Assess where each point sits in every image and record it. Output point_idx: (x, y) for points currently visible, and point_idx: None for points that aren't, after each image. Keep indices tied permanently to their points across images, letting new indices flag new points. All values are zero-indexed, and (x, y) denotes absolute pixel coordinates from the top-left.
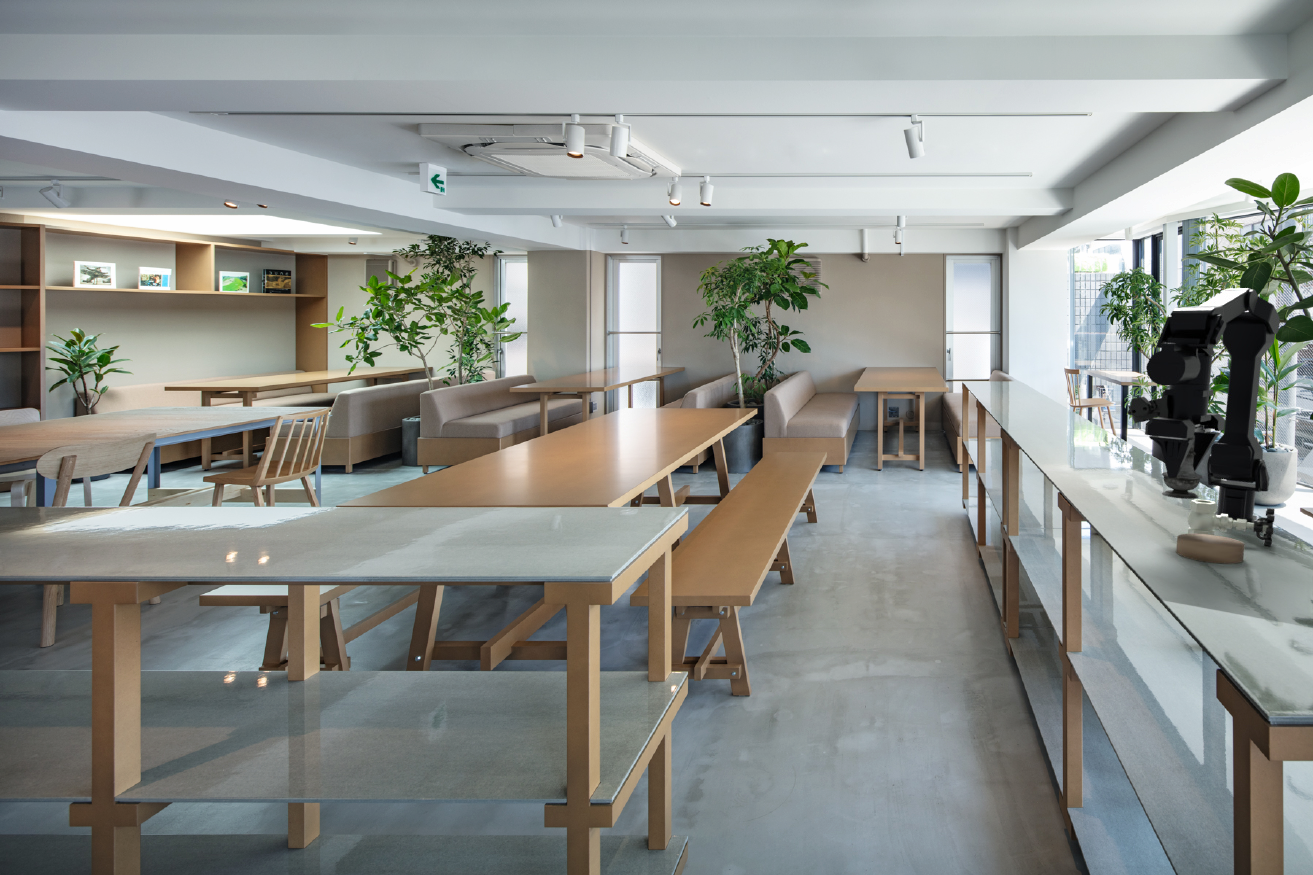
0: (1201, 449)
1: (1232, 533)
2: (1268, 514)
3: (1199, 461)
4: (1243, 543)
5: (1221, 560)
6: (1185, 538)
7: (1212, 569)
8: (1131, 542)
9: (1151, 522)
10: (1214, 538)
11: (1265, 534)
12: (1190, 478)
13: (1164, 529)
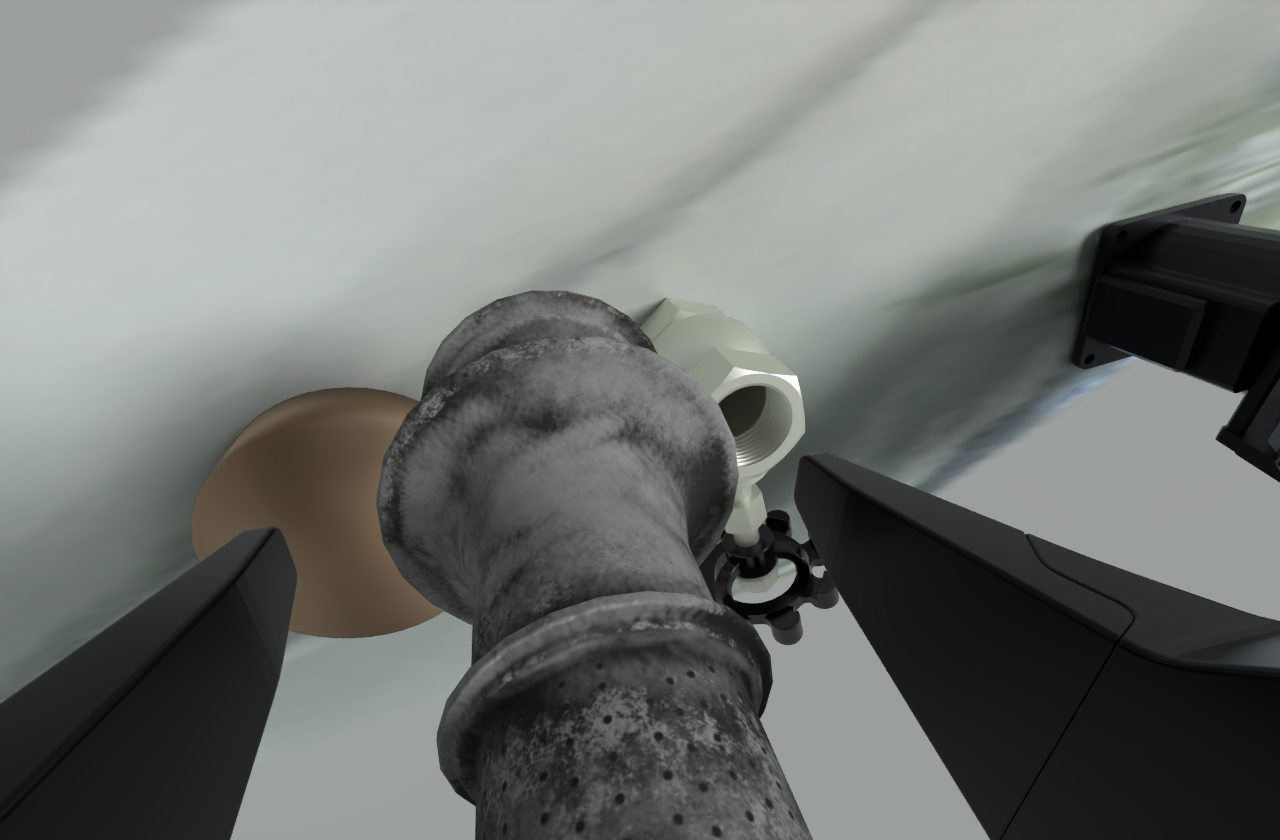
0: (953, 732)
1: (864, 382)
2: (782, 607)
3: (851, 609)
4: (433, 615)
5: None
6: (266, 473)
7: (141, 595)
8: (244, 162)
9: (883, 22)
10: None
11: (785, 523)
12: (454, 615)
13: (747, 154)
